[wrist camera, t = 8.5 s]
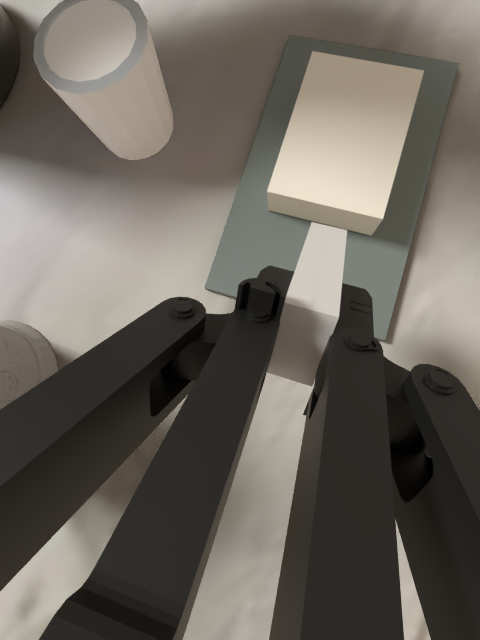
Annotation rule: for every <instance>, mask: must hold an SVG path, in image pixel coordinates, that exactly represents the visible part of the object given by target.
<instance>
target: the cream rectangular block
mask: <svg viewBox="0 0 480 640" xmlns="http://www.w3.org/2000/svg"><path fill="white" fill-rule="evenodd" d="M423 73H424V70H418V69H413V68H407V67H401V66H395V65H390V64H384V63H378V62H372V61H367V60H361V59H355V58H349V57H344V56H338V55H332V54H326V53H321V52H315V51H312V54H311V57H310V60H309V63H308V66H307V70H306V73H305V76H304V79H303V82H302V85H301V88H300V91H299V94H298V97H297V100H296V103H295V106H294V110H293V113H292V116H291V119H290V122H289V125H288V128H287V131H286V134H285V137H284V140H283V143H282V146H281V150H280V153H279V156H278V159H277V162H276V165H275V168H274V171H273V174H272V177H271V180H270V183H269V186H268V190H267V203H268V210H270V211H274V212H278V213H282V214H286V215H290V216H294V217H298V218H302V219H306V220H310V221H314V222H318V223H322V224H326V225H330V226H334V227H338V228H342V229H346V230H350V231H354V232H359V233H363V234H367V235H371V236H372V234H373V233H374V232H375V230H376V229H377V227H378V226H379V224H380V223H381V221H382V220H383V217H384V214H385V210H386V207H387V203H388V199H389V196H390V192H391V189H392V185H393V181H394V178H395V174H396V171H397V167H398V163H399V160H400V156H401V153H402V149H403V145H404V142H405V138H406V135H407V131H408V127H409V124H410V120H411V116H412V113H413V109H414V106H415V102H416V98H417V95H418V91H419V88H420V84H421V80H422V77H423Z"/></svg>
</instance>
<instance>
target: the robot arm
mask: <svg viewBox="0 0 480 640" xmlns="http://www.w3.org/2000/svg"><path fill="white" fill-rule="evenodd" d="M18 62H19V41H18V36H17V33H16V30H15V27H14V25H13V23H12V21H11V20H10V18H9V16H8V15H7V14H6V12H5V11H4V10H3V8H2V7H1V6H0V105H1V103H2V102H3V101H4V99H5V97H6V96H7V94H8V92H9V90H10V88H11V86H12V84H13V81H14V78H15V75H16V72H17V68H18ZM346 238H347V230H344V229H340V228H335V227H331V226H327V225H323V224H318V223H314V222H312V223H311V226H310V229H309V231H308V234H307V237H306V240H305V243H304V246H303V249H302V252H301V255H300V257H299V260H298V263H297V266H296V269H295V272H294V271H290V270H286V269H282V268H278V267H274V266H271V265H269V266H267V267H266V268H264V269H262V270H261V271H260V273H259V275H258V277H257V278H249V279H246V280H243V281H242V282H241V283H240V284H239V285H238V292H237V298H236V305H235V310H234V311H233V312H232V313H229V314H206V309H205V307H204V306H203V304H202V303H200V302H199V301H197V300H195V299H191V298H188V297H175V298H170V299H167V300H165V301H163V302H162V303H160V304H159V305H157V306H156V307H154V308H153V309H151V310H150V311H148V312H147V313H145V314H144V315H142V316H140V317H139V318H137V319H136V320H134V321H133V322H131V323H130V324H128V325H127V326H125V327H124V328H122V329H121V330H119V331H118V332H116V333H115V334H113V335H112V336H110V337H109V338H107V339H106V340H104V341H103V342H101V343H100V344H98V345H97V346H95V347H94V348H92V349H91V350H89V351H88V352H86V353H85V354H83V355H82V356H80V357H79V358H77V359H76V360H74V361H73V362H71V363H70V364H68V365H67V366H65V367H64V368H62V369H61V370H59V371H58V372H56V373H55V374H53V375H52V376H50V377H49V378H47V379H46V380H44V381H43V382H41V383H40V384H38V385H37V386H35V387H34V388H32V389H31V390H29V391H28V392H26V393H25V394H23V395H21V396H20V397H18V398H17V399H15V400H14V401H12V402H11V403H9V404H8V405H6V406H5V407H3V408H2V409H0V591H1V590H2V589H3V588H4V587H5V586H6V585H7V584H8V583H9V582H10V580H11V579H12V578H13V577H14V576H15V575H16V574H17V573H18V572H19V571H20V570H21V569H22V568H23V567H24V566H25V565H26V564H27V563H28V562H29V561H30V560H31V558H32V557H33V556H34V555H35V554H36V553H37V552H38V551H39V550H40V549H41V548H42V547H43V546H44V545H45V544H46V543H47V542H48V541H49V540H50V539H51V537H52V536H53V535H54V534H55V533H56V532H57V531H58V530H59V529H60V528H61V527H62V526H63V525H64V524H65V523H66V522H67V521H68V520H69V519H70V518H71V517H72V515H73V514H74V513H75V512H76V511H77V510H78V509H79V508H80V507H81V506H82V505H83V504H84V503H85V502H86V501H87V500H88V499H89V498H90V497H91V496H92V495H93V493H94V492H95V491H96V490H97V489H98V488H99V487H100V486H101V485H102V484H103V483H104V482H105V481H106V480H107V479H108V478H109V477H110V476H111V475H112V474H113V472H114V471H115V470H116V469H117V468H118V467H119V466H120V465H121V464H122V463H123V462H124V461H125V460H126V459H127V458H128V457H129V456H130V455H131V454H132V453H133V452H134V450H135V449H136V448H137V447H138V446H139V445H140V444H141V443H142V442H143V441H144V440H145V439H146V438H147V437H148V436H149V435H150V434H151V433H152V432H153V431H154V429H155V428H156V427H157V426H158V425H159V424H160V423H161V422H162V421H163V420H164V419H165V418H166V417H167V416H168V415H169V414H170V413H171V412H172V411H173V410H174V409H175V407H176V406H177V405H178V404H179V403H180V402H181V401H182V400H183V399H184V398H185V397H186V396H187V395H188V396H187V398H186V400H185V402H184V404H183V405H182V407H181V409H180V411H179V413H178V415H177V416H176V418H175V420H174V422H173V424H172V426H171V427H170V429H169V431H168V433H167V435H166V437H165V439H164V440H163V442H162V444H161V446H160V448H159V450H158V451H157V453H156V455H155V457H154V459H153V461H152V462H151V464H150V466H149V468H148V470H147V472H146V474H145V475H144V477H143V479H142V481H141V483H140V485H139V486H138V488H137V490H136V492H135V494H134V496H133V498H132V499H131V501H130V503H129V505H128V507H127V509H126V510H125V512H124V514H123V516H122V518H121V520H120V521H119V523H118V525H117V527H116V529H115V531H114V533H113V534H112V536H111V538H110V540H109V542H108V544H107V545H106V547H105V549H104V551H103V553H102V555H101V556H100V558H99V560H98V562H97V564H96V566H95V568H94V569H93V571H92V573H91V574H90V576H89V578H88V579H87V580H86V582H85V583H84V584H83V586H82V587H81V588H80V589H79V590H77V591H76V592H75V593H74V594H72V595H71V596H70V597H69V598H68V599H67V600H66V601H65V602H64V603H63V605H62V606H61V607H60V609H59V610H58V611H57V612H56V614H55V615H54V617H53V618H52V620H51V621H50V623H49V624H48V626H47V628H46V629H45V631H44V632H43V634H42V636H41V637H40V639H39V640H183V636H184V633H185V630H186V627H187V624H188V621H189V618H190V614H191V611H192V608H193V605H194V602H195V599H196V595H197V592H198V589H199V586H200V583H201V580H202V576H203V573H204V570H205V567H206V564H207V561H208V558H209V554H210V551H211V548H212V545H213V542H214V539H215V535H216V532H217V529H218V526H219V523H220V520H221V516H222V513H223V510H224V507H225V504H226V501H227V497H228V494H229V491H230V488H231V485H232V482H233V479H234V475H235V472H236V469H237V466H238V463H239V460H240V456H241V453H242V450H243V447H244V444H245V441H246V437H247V434H248V431H249V428H250V425H251V422H252V419H253V415H254V412H255V409H256V406H257V403H258V400H259V396H260V393H261V390H262V387H263V384H264V380H265V376H266V372H267V373H270V374H274V375H277V376H280V377H283V378H287V379H290V380H293V381H296V382H300V383H303V384H306V385H309V386H312V385H313V383H314V380H315V384H314V388H313V391H312V393H311V396H310V398H309V401H308V403H307V406H306V408H305V411H304V414H303V415H306V422H305V428H304V434H303V440H302V446H301V452H300V458H299V464H298V470H297V476H296V482H295V488H294V494H293V500H292V506H291V512H290V518H289V524H288V530H287V536H286V542H285V548H284V554H283V560H282V566H281V572H280V578H279V584H278V590H277V596H276V602H275V608H274V614H273V620H272V626H271V632H270V638H269V640H404V633H403V620H402V606H401V592H400V579H399V565H398V551H397V537H396V524H395V518H396V522H397V525H398V529H399V532H400V535H401V539H402V542H403V546H404V549H405V552H406V556H407V559H408V563H409V566H410V569H411V573H412V576H413V580H414V583H415V586H416V590H417V593H418V597H419V600H420V603H421V607H422V610H423V613H424V617H425V620H426V624H427V627H428V630H429V634H430V637H431V640H480V411H479V409H478V408H477V406H476V404H475V403H474V401H473V400H472V398H471V396H470V395H469V393H468V392H467V390H466V388H465V387H464V386H463V384H462V383H461V382H460V381H459V380H458V379H457V378H456V377H455V376H453V375H452V374H451V373H449V372H448V371H446V370H444V369H442V368H440V367H437V366H433V365H429V364H419V365H417V366H415V367H413V368H412V370H411V372H410V371H408V370H406V369H404V368H402V367H400V366H398V365H396V364H394V363H393V362H391V361H389V360H388V359H387V358H385V357H384V356H383V349H382V347H381V344H380V343H379V342H378V341H377V339H376V338H375V337H374V324H373V308H372V307H373V303H372V297H371V296H370V294H369V293H368V291H367V290H366V289H364V288H360V287H356V286H352V285H348V284H344V283H342V280H343V269H344V259H345V248H346Z"/></svg>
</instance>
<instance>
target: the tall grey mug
mask: <svg viewBox="0 0 480 640" xmlns="http://www.w3.org/2000/svg"><path fill="white" fill-rule="evenodd" d="M56 372H58V364H57V360H56V357H55V354H54V352H53V350H52V347H51V345H50V344H49V343H48V341H47V340H46V339H45V337H44V336H43V335H42V334H40V333H39V332H38V331H37V330H35V329H34V328H32V327H31V326H29V325H26V324H23V323H20V322H14V321H0V409H2V408H3V407H5V406H6V405H8V404H9V403H11V402H12V401H14V400H15V399H17V398H18V397H20V396H21V395H23V394H25V393H26V392H28V391H29V390H31V389H32V388H34V387H35V386H37V385H38V384H40V383H41V382H43V381H44V380H46V379H47V378H49V377H50V376H52V375H53V374H55V373H56Z"/></svg>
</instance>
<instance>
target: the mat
mask: <svg viewBox="0 0 480 640" xmlns="http://www.w3.org/2000/svg"><path fill="white" fill-rule="evenodd" d="M312 51H315V52H321V53H326V54H332V55H338V56H344V57H349V58H355V59H361V60H367V61H372V62H378V63H384V64H390V65H395V66H401V67H407V68H413V69H418V70H424V73H423V77H422V80H421V84H420V88H419V91H418V95H417V98H416V102H415V106H414V109H413V113H412V116H411V120H410V124H409V127H408V131H407V135H406V138H405V142H404V145H403V149H402V153H401V156H400V160H399V163H398V167H397V171H396V174H395V178H394V181H393V185H392V189H391V192H390V196H389V199H388V203H387V207H386V210H385V214H384V217H383V220H382V221H381V223H380V224H379V226H378V227H377V229H376V230H375V232H374V233H373V234H372V236H371V235H367V234H363V233H359V232H354V231H350V230H347V238H346V248H345V259H344V269H343V280H342V283H344V284H348V285H352V286H356V287H360V288H364V289H366V290H367V291H368V293H369V294H370V296H371V297H372V303H373V307H372V308H373V324H374V337H375V338H376V339H377V340H381V341H385V340H386V336H387V332H388V329H389V325H390V321H391V317H392V313H393V310H394V306H395V302H396V298H397V295H398V291H399V287H400V283H401V279H402V276H403V272H404V268H405V264H406V260H407V257H408V253H409V249H410V245H411V242H412V238H413V234H414V230H415V226H416V223H417V219H418V215H419V211H420V208H421V204H422V200H423V196H424V192H425V189H426V185H427V181H428V177H429V174H430V170H431V166H432V162H433V158H434V155H435V151H436V147H437V143H438V140H439V136H440V132H441V128H442V124H443V121H444V117H445V113H446V109H447V105H448V102H449V98H450V94H451V90H452V87H453V83H454V79H455V75H456V71H457V68H458V64H459V63H453V62H447V61H441V60H435V59H430V58H424V57H418V56H412V55H406V54H400V53H394V52H388V51H382V50H376V49H370V48H364V47H358V46H352V45H346V44H340V43H334V42H328V41H323V40H317V39H311V38H305V37H299V36H293V35H290V36H289V39H288V42H287V45H286V48H285V50H284V53H283V56H282V59H281V62H280V65H279V68H278V71H277V74H276V77H275V80H274V83H273V86H272V89H271V92H270V95H269V98H268V101H267V104H266V107H265V110H264V113H263V116H262V119H261V122H260V125H259V128H258V131H257V134H256V137H255V140H254V143H253V146H252V149H251V152H250V155H249V158H248V160H247V163H246V166H245V169H244V172H243V175H242V178H241V181H240V184H239V187H238V190H237V193H236V196H235V199H234V202H233V205H232V208H231V211H230V214H229V217H228V220H227V223H226V226H225V229H224V232H223V235H222V238H221V241H220V244H219V247H218V250H217V253H216V256H215V259H214V262H213V265H212V267H211V270H210V273H209V276H208V279H207V282H206V285H205V289H206V290H209V291H213V292H216V293H219V294H223V295H226V296H230V297H233V298H237V292H238V285H239V284H240V283H241V282H242V281H243V280H246V279H249V278H257V277H258V275H259V273H260V271H261V270H262V269H264V268H266V267H267V266H269V265H271V266H274V267H278V268H282V269H286V270H290V271H294V272H295V269H296V266H297V263H298V260H299V257H300V255H301V252H302V249H303V246H304V243H305V240H306V237H307V234H308V231H309V229H310V226H311V223H312V222H314V221H310V220H306V219H302V218H298V217H294V216H290V215H286V214H282V213H278V212H274V211H270V210H268V203H267V190H268V186H269V183H270V180H271V177H272V174H273V171H274V168H275V165H276V162H277V159H278V156H279V153H280V150H281V146H282V143H283V140H284V137H285V134H286V131H287V128H288V125H289V122H290V119H291V116H292V113H293V110H294V106H295V103H296V100H297V97H298V94H299V91H300V88H301V85H302V82H303V79H304V76H305V73H306V70H307V66H308V63H309V60H310V57H311V54H312ZM314 223H318V222H314ZM318 224H322V223H318ZM323 225H326V224H323ZM327 226H330V225H327ZM331 227H334V226H331ZM335 228H338V227H335ZM340 229H342V228H340ZM344 230H346V229H344Z"/></svg>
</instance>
